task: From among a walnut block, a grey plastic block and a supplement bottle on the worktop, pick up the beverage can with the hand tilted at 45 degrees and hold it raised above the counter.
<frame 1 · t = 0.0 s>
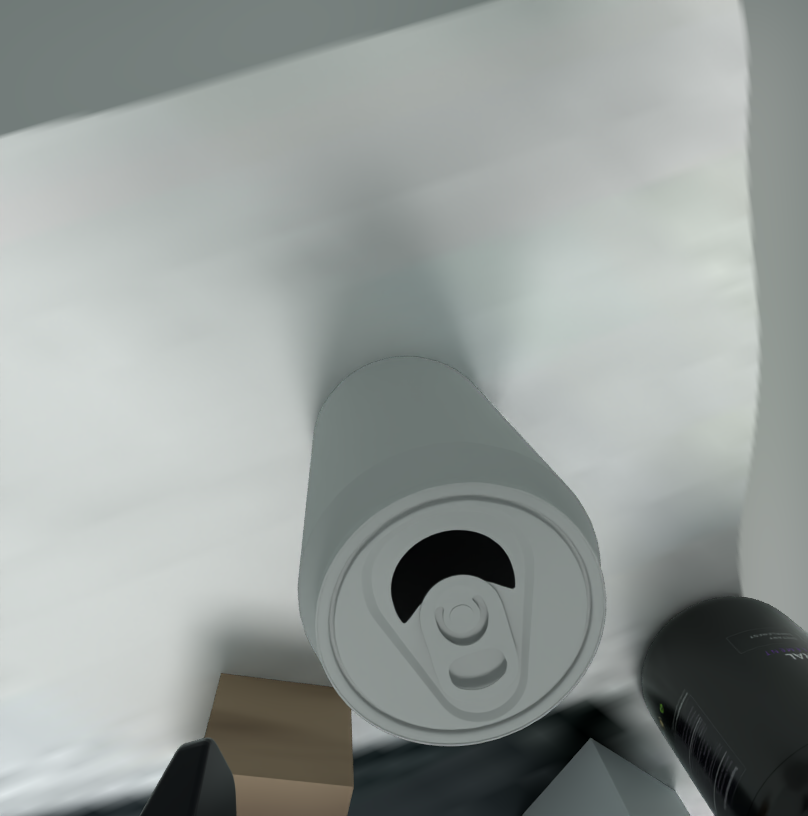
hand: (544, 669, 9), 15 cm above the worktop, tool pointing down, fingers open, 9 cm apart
beverage can: (402, 439, 25), on the worktop
grey plastic block: (595, 805, 29), on the worktop
walnut block: (275, 734, 27), on the worktop
supplement bottle: (711, 661, 28), on the worktop
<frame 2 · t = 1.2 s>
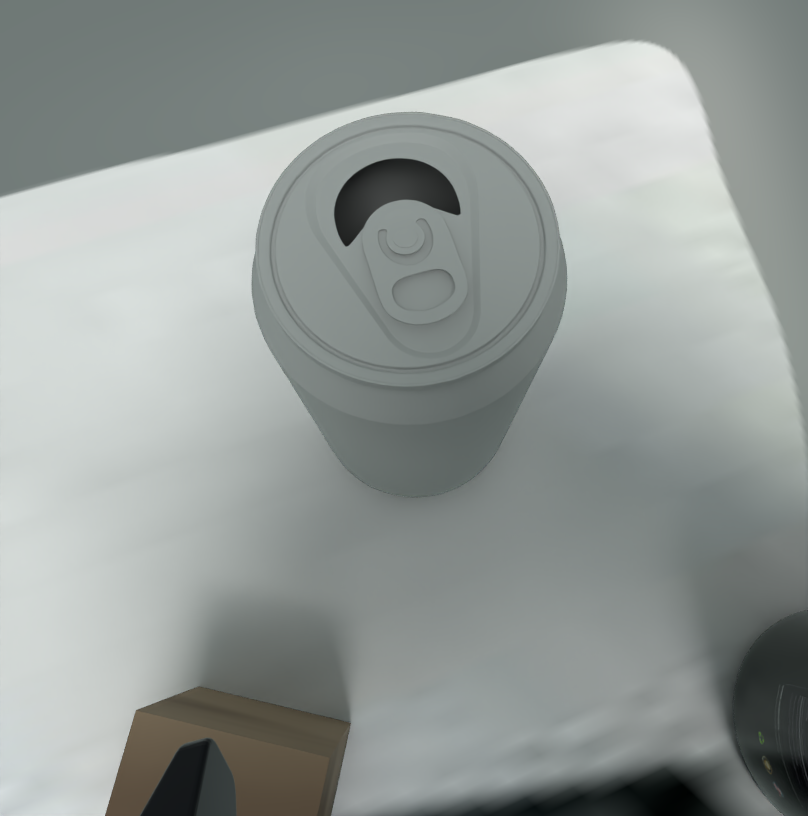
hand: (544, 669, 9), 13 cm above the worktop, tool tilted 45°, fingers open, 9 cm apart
beverage can: (415, 412, 24), on the worktop
walnut block: (253, 789, 21), on the worktop
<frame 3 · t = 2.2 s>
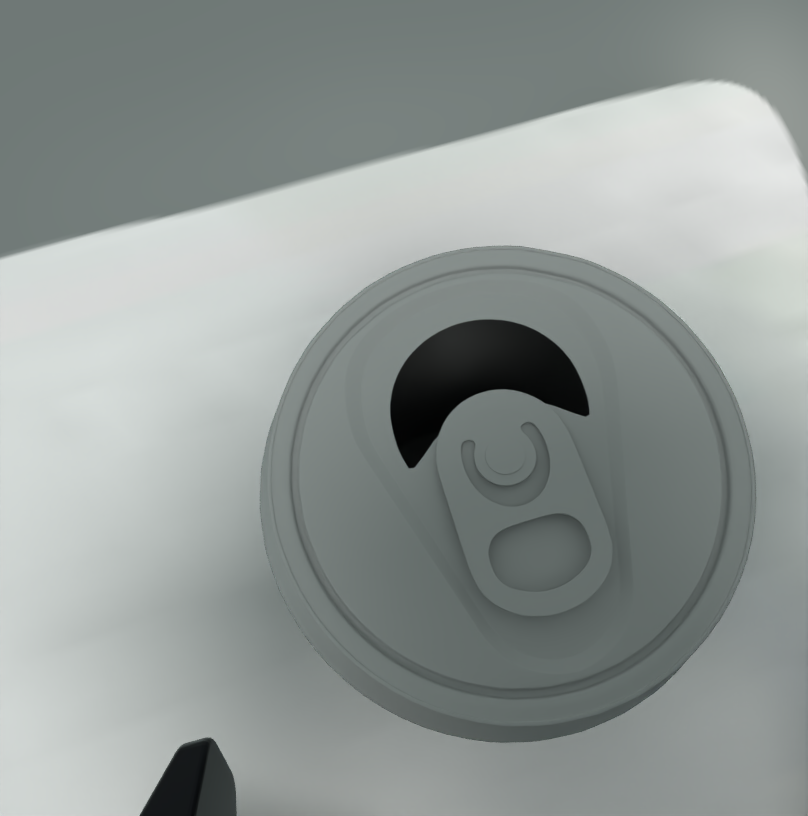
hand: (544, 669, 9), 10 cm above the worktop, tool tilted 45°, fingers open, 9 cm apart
beverage can: (459, 547, 20), on the worktop
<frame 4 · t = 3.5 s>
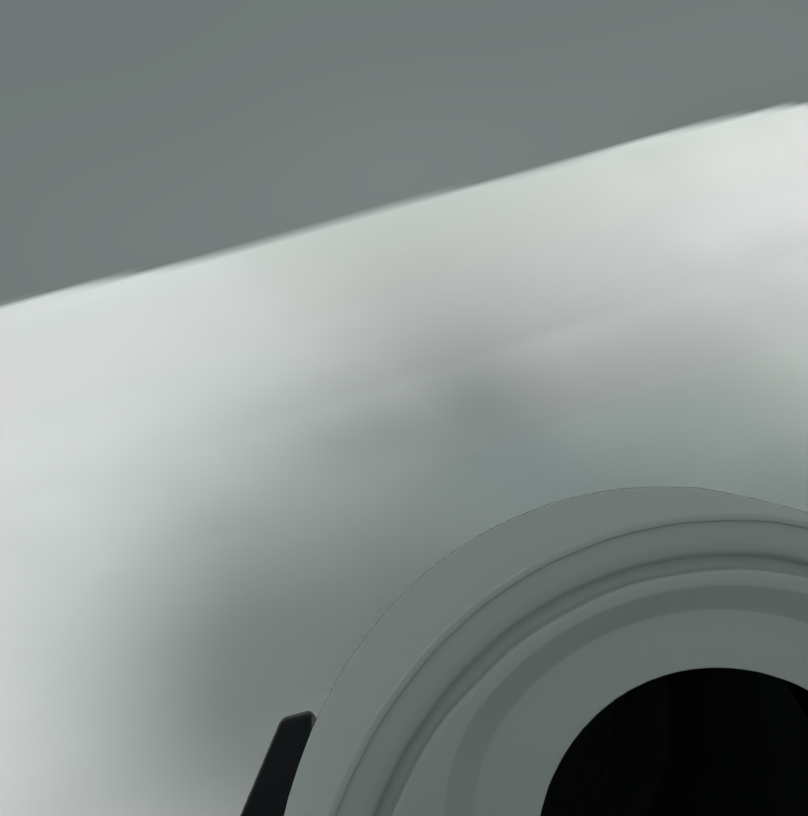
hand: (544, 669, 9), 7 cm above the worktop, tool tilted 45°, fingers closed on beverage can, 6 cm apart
beverage can: (514, 703, 15), on the worktop, touching gripper
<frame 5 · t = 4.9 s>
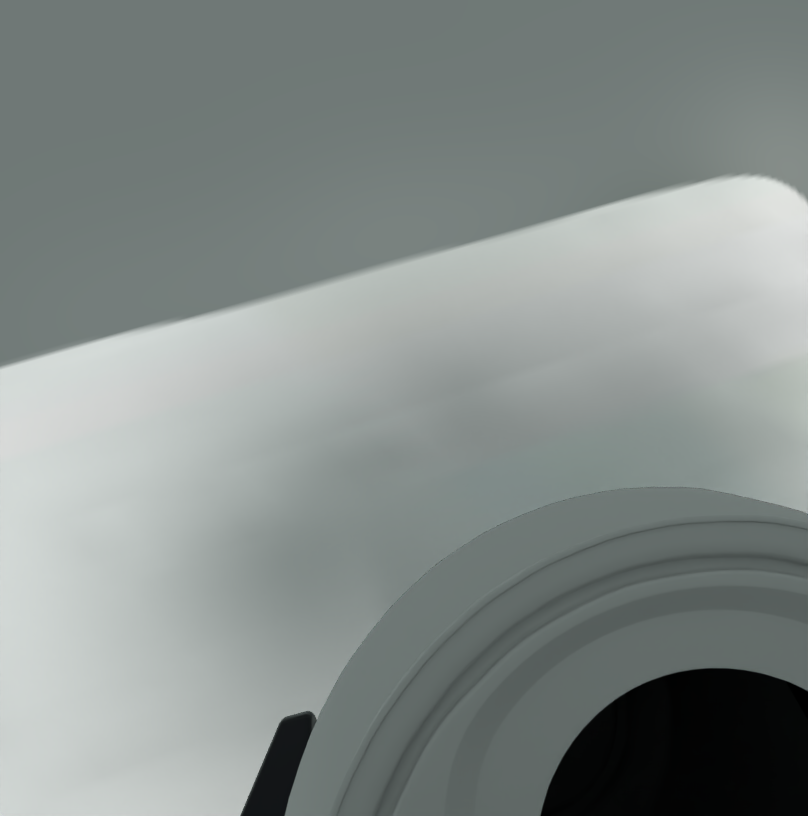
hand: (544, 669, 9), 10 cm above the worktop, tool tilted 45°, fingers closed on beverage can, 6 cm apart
beverage can: (514, 701, 15), point 4 cm above the worktop, touching gripper
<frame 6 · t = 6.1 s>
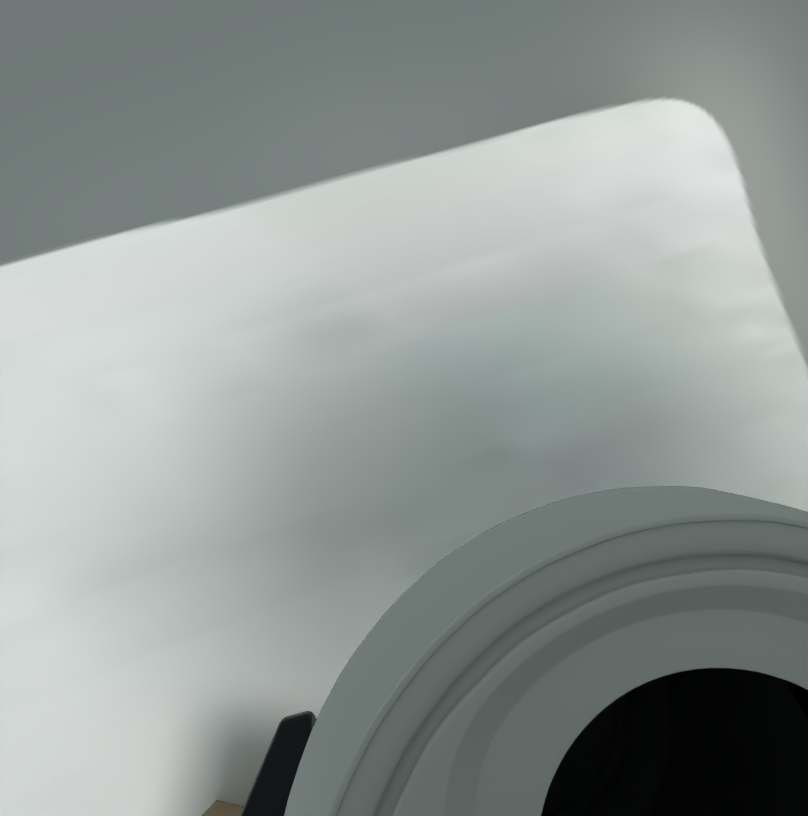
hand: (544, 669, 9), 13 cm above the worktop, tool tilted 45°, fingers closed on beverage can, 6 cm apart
beverage can: (514, 701, 15), point 6 cm above the worktop, touching gripper
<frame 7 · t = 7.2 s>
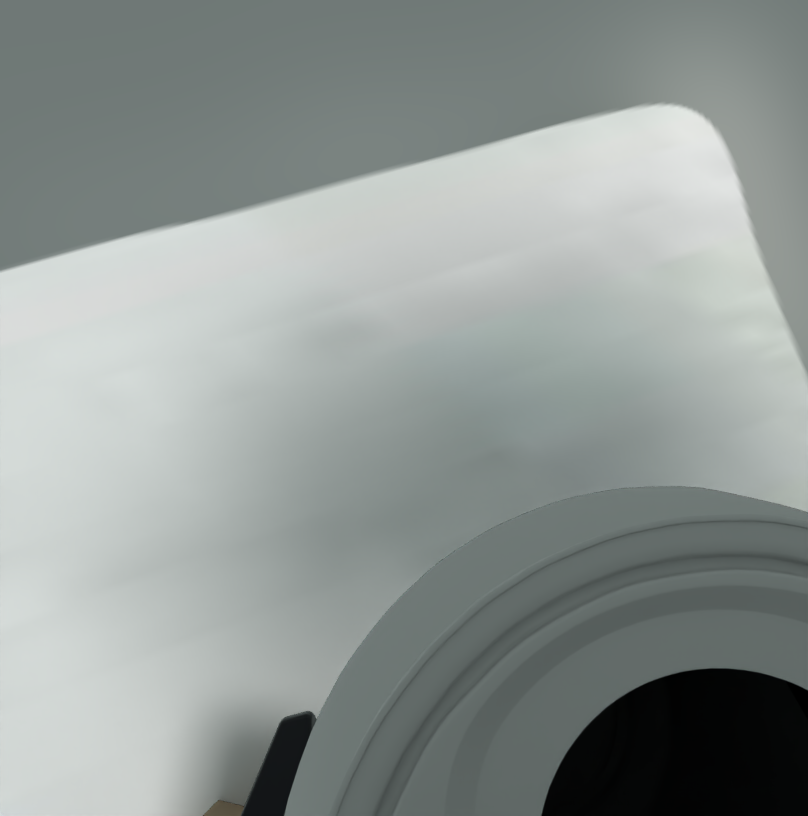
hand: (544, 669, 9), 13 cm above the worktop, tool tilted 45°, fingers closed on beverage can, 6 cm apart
beverage can: (514, 701, 15), point 6 cm above the worktop, touching gripper
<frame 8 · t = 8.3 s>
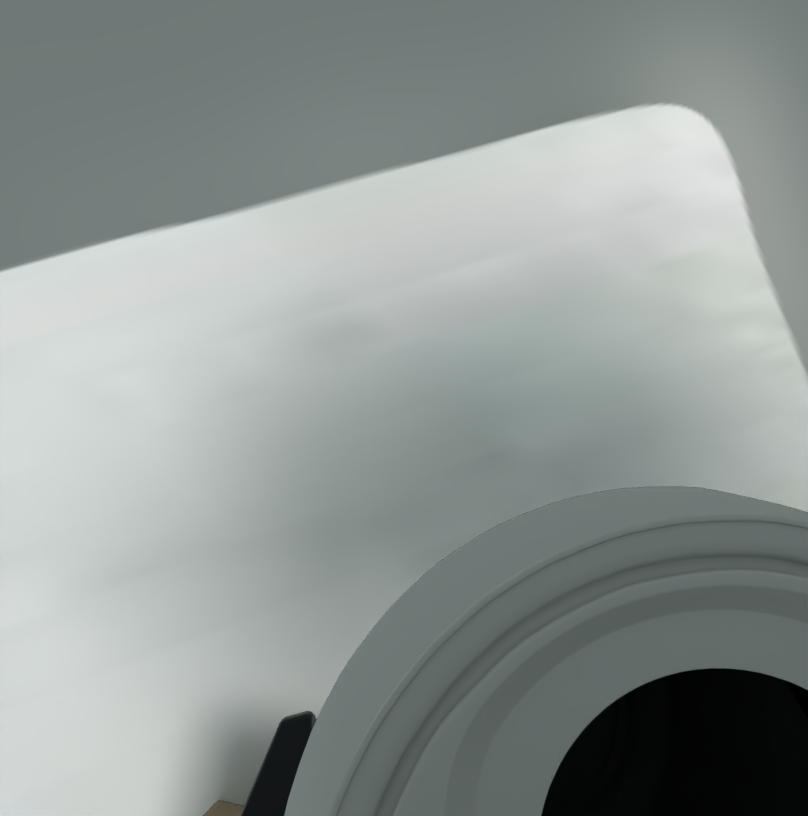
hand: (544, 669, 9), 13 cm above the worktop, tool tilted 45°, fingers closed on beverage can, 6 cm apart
beverage can: (514, 701, 15), point 6 cm above the worktop, touching gripper
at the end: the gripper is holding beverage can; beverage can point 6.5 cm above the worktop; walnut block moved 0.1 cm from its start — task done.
